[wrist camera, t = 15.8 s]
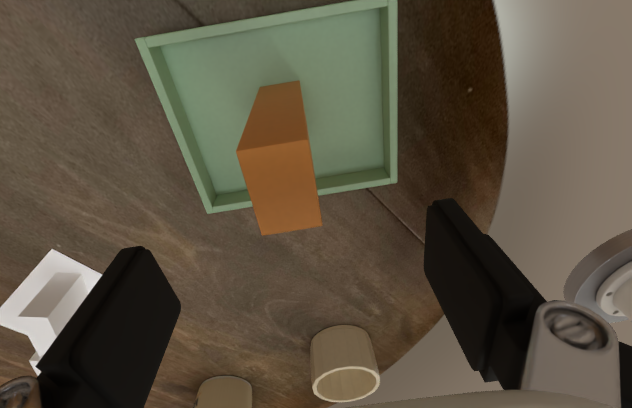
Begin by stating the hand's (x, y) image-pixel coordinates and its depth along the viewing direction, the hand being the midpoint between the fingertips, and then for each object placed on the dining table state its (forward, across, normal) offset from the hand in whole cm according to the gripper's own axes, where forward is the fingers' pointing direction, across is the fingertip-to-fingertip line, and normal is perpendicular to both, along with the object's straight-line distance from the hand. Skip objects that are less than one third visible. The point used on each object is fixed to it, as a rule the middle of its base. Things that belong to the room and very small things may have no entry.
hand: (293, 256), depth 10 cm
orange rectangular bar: (+16, +1, 0) cm, 16 cm away
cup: (+17, 0, +32) cm, 36 cm away
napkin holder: (+16, +29, +18) cm, 37 cm away
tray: (+16, +1, 0) cm, 17 cm away
